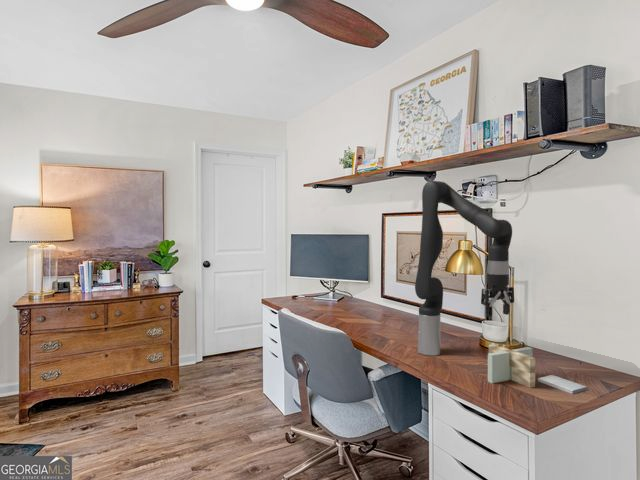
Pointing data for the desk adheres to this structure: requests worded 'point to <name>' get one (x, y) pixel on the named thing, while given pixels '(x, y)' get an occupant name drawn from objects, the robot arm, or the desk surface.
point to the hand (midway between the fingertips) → (497, 315)
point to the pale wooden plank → (519, 365)
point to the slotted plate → (503, 365)
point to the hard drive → (562, 384)
